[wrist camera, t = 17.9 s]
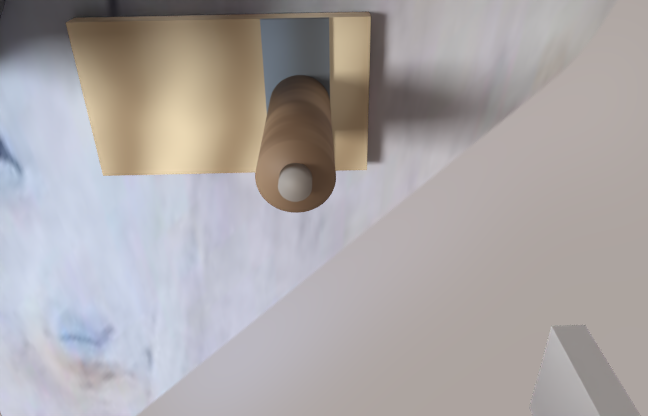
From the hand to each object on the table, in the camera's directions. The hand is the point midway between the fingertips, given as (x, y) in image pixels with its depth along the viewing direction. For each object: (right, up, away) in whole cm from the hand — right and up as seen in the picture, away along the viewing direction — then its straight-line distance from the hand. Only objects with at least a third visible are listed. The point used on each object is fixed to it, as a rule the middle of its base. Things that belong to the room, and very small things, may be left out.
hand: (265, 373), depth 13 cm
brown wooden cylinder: (0, +10, +18) cm, 21 cm away
